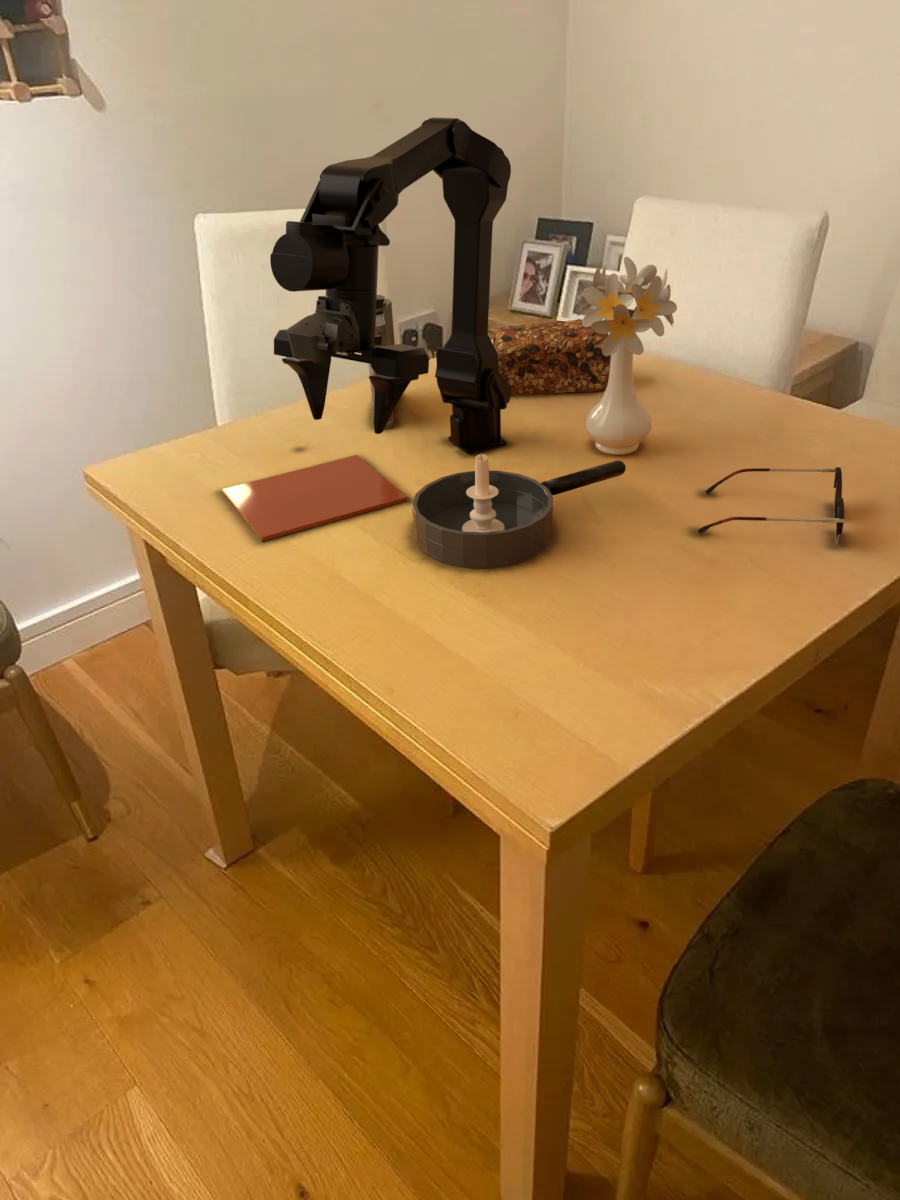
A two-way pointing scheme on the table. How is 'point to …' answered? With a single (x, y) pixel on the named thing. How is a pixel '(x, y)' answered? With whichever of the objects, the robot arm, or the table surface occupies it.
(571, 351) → the bread
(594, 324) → the flower vase
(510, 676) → the table surface
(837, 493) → the sunglasses
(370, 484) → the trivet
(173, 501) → the table surface
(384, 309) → the flask
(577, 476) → the pan handle
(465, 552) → the pan
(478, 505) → the candle
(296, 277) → the robot arm
